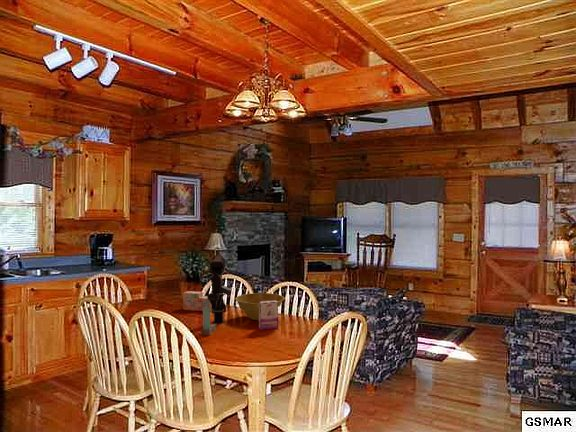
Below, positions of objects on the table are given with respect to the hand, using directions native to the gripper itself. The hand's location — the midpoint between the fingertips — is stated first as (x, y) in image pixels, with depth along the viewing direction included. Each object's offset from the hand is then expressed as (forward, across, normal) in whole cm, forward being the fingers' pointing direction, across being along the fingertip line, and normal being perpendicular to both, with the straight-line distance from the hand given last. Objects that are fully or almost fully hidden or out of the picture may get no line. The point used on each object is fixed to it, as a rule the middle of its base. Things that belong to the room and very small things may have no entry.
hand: (216, 307), depth 273 cm
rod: (+10, -11, +3) cm, 15 cm away
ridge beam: (+13, -6, +3) cm, 15 cm away
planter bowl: (+13, +31, -20) cm, 39 cm away
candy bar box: (+13, +7, -30) cm, 34 cm away
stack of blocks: (+13, +47, +27) cm, 56 cm away
